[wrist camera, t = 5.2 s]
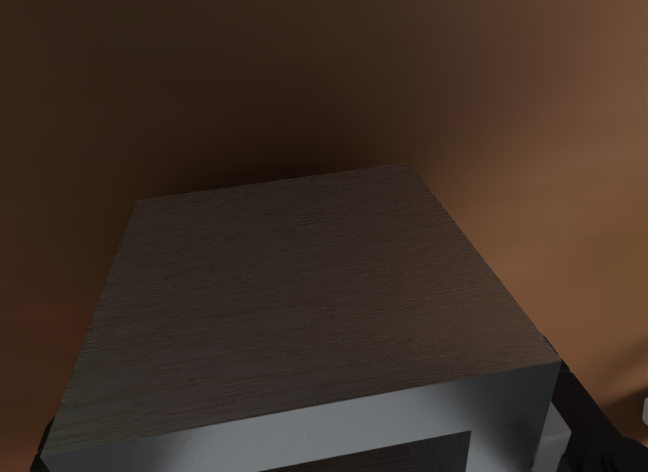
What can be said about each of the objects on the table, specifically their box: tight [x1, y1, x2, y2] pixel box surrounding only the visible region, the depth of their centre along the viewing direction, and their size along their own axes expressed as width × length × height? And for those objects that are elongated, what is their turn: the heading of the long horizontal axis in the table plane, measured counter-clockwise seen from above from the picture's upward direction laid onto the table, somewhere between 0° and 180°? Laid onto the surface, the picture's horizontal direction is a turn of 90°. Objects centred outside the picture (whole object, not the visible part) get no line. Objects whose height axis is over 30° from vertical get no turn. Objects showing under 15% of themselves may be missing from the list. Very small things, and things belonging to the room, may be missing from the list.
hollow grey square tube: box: [40, 162, 562, 472], centre depth 11 cm, size 7×7×7 cm
